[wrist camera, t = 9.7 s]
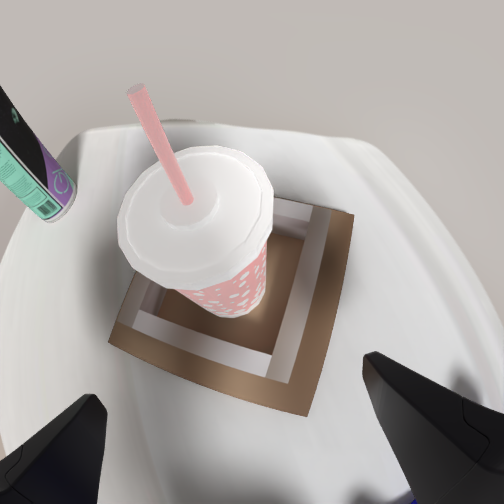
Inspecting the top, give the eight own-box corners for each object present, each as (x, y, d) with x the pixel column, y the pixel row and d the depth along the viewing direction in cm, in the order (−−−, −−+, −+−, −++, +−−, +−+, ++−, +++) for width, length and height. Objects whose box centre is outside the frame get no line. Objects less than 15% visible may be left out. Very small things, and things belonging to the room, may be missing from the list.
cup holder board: (351, 222, 20) (362, 194, 17) (305, 414, 15) (311, 424, 12) (184, 187, 23) (171, 160, 20) (115, 344, 18) (87, 336, 15)
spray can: (84, 189, 25) (-19, 44, 7) (53, 230, 23) (-70, 99, 5) (64, 176, 26) (-25, 54, 8) (36, 213, 25) (-66, 99, 7)
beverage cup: (184, 248, 19) (76, 77, 7) (270, 234, 19) (248, 26, 7) (187, 334, 17) (2, 221, 4) (285, 322, 17) (294, 144, 4)
